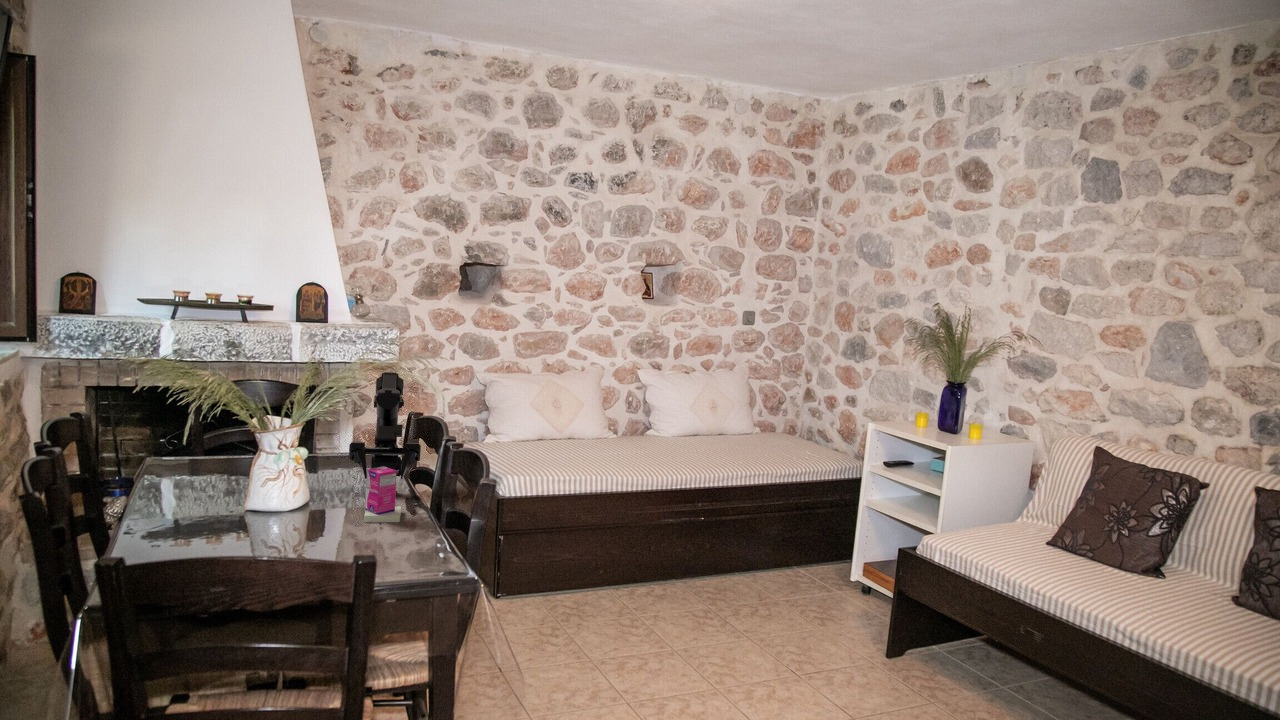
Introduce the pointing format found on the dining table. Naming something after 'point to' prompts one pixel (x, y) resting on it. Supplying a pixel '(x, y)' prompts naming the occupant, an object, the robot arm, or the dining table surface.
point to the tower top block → (383, 516)
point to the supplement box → (380, 490)
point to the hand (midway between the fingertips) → (383, 478)
